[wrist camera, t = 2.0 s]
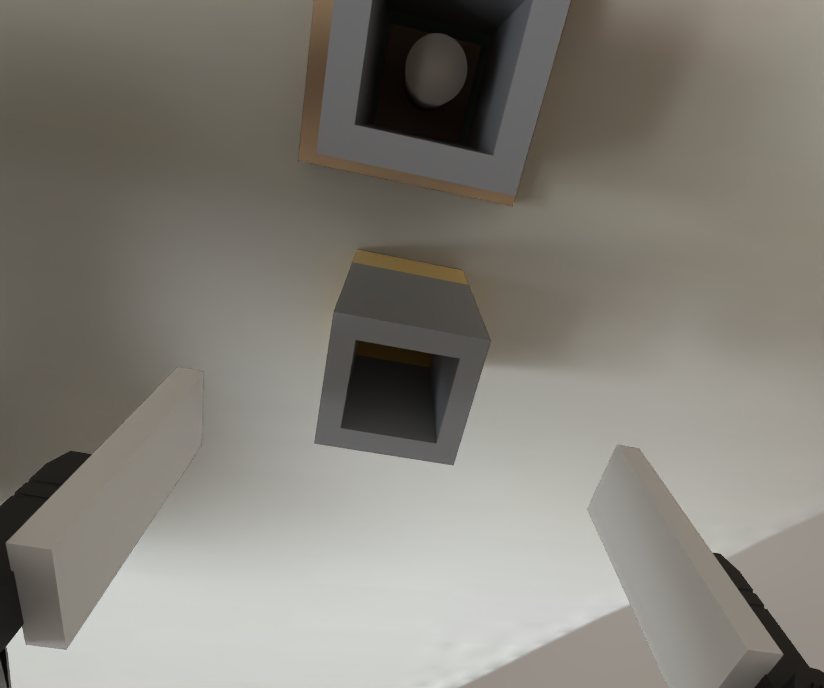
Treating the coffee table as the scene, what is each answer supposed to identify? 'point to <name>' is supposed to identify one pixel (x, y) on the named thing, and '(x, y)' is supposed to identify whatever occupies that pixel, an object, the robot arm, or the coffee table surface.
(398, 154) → the sleeve teal
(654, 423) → the coffee table surface
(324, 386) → the sleeve ochre
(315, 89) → the pin board
